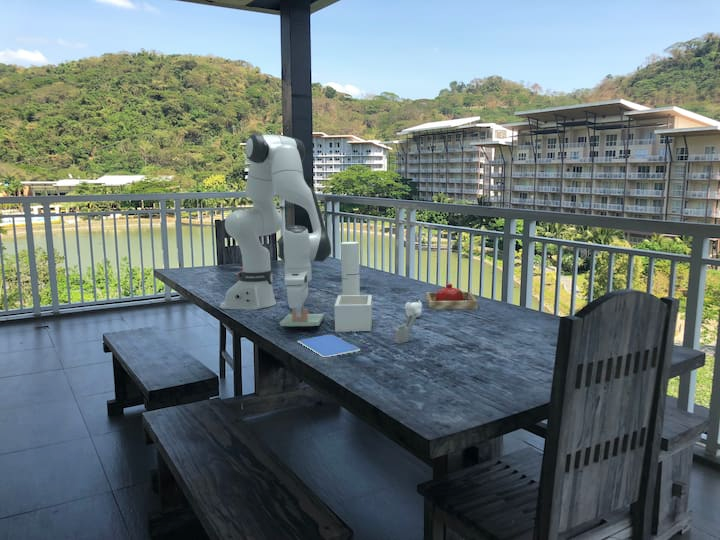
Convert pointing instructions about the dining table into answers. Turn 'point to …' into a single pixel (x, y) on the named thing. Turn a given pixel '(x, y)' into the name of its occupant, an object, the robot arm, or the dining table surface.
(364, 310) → the parts tub
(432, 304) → the wooden frame
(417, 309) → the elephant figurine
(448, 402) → the dining table surface
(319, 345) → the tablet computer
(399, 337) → the lighter
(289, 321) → the lid
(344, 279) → the cylindrical container
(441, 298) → the butter dish
